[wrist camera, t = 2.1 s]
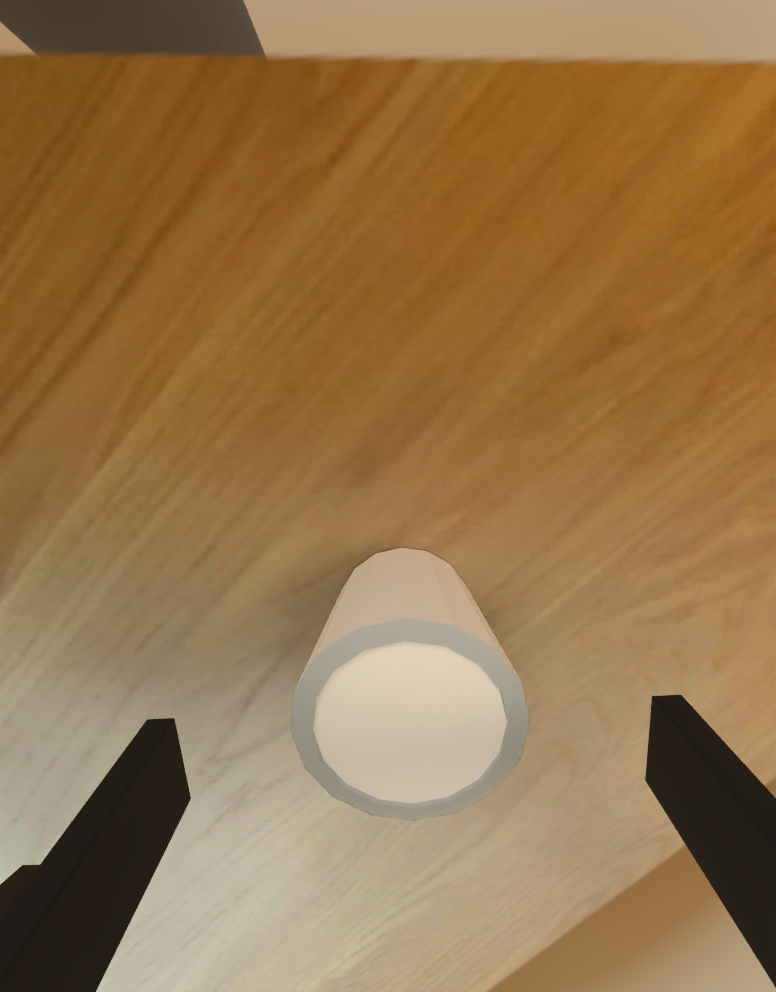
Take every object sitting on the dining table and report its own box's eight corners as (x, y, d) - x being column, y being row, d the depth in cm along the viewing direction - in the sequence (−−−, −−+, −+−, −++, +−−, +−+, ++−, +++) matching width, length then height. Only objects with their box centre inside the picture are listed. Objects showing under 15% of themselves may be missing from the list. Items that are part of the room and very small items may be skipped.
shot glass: (353, 511, 19) (330, 587, 12) (509, 563, 19) (571, 664, 12) (305, 651, 20) (261, 787, 14) (450, 696, 21) (476, 849, 14)
